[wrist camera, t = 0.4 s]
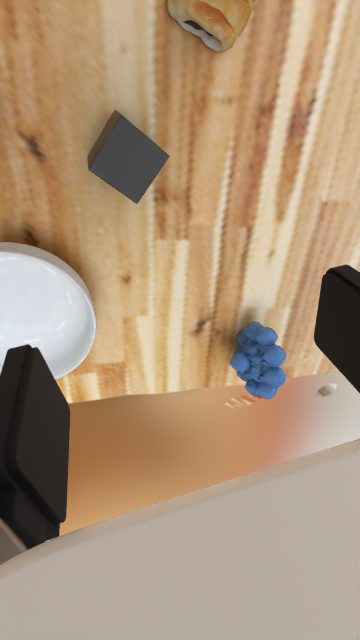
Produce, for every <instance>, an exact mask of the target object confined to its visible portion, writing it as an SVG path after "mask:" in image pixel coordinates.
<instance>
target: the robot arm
mask: <svg viewBox="0 0 360 640" xmlns="http://www.w3.org/2000/svg"><path fill="white" fill-rule="evenodd" d="M314 340H315V343H316V345H317V347H318V348H319V349H320V350H321V351H322V352H323V353H324V354H325V355H326V356H327V358H328V359H329V360H330V361H331V362H332V363H333V364H334V365H335V366H336V367H337V369H338V370H339V371H340V372H341V373H342V374H343V375H344V376H345V377H346V378H347V380H348V381H349V382H350V383H351V384H352V385H353V386H354V387H355V388H356V390H357V391H358V392H359V393H360V272H358V271H357V270H355V269H354V268H352V267H351V266H349V265H342V266H338V267H334V268H330V269H329V270H328V271H327V272H326V274H325V275H324V276H323V278H322V283H321V290H320V297H319V304H318V311H317V318H316V325H315V332H314ZM69 430H70V409H69V406H68V403H67V401H66V399H65V397H64V395H63V394H62V392H61V390H60V388H59V386H58V384H57V382H56V380H55V378H54V376H53V375H52V373H51V371H50V369H49V367H48V365H47V363H46V361H45V359H44V357H43V355H42V354H41V352H40V350H39V348H38V347H34V348H32V347H31V346H30V345H29V344H26V345H22V346H18V347H14V348H10V349H8V351H7V353H6V357H5V360H4V364H3V367H2V371H1V374H0V640H360V439H358V440H354V441H351V442H348V443H345V444H342V445H339V446H335V447H332V448H329V449H326V450H323V451H319V452H316V453H313V454H310V455H307V456H304V457H300V458H297V459H294V460H291V461H288V462H284V463H282V464H278V465H275V466H272V467H269V468H265V469H262V470H259V471H256V472H253V473H250V474H246V475H243V476H240V477H237V478H234V479H231V480H228V481H224V482H221V483H218V484H215V485H212V486H209V487H206V488H203V489H200V490H197V491H193V492H190V493H187V494H184V495H181V496H178V497H175V498H172V499H169V500H165V501H162V502H160V503H156V504H153V505H150V506H147V507H144V508H141V509H138V510H134V511H131V512H128V513H126V514H123V515H120V516H117V517H114V518H111V519H108V520H105V521H102V522H99V523H96V524H93V525H90V526H88V527H85V528H82V529H79V530H76V531H73V532H70V533H68V534H65V535H62V536H60V537H59V528H60V523H62V522H64V521H65V519H66V506H67V481H68V457H69ZM56 537H57V538H56ZM53 538H55V539H53ZM50 539H52V540H50ZM47 540H50V541H47ZM45 541H47V542H45Z"/></svg>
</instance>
